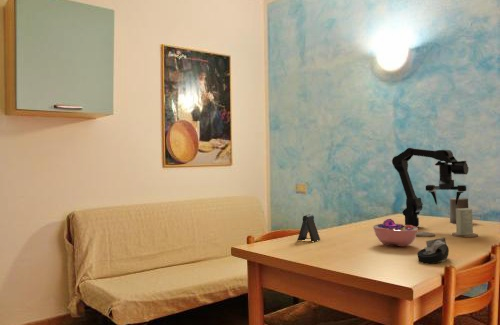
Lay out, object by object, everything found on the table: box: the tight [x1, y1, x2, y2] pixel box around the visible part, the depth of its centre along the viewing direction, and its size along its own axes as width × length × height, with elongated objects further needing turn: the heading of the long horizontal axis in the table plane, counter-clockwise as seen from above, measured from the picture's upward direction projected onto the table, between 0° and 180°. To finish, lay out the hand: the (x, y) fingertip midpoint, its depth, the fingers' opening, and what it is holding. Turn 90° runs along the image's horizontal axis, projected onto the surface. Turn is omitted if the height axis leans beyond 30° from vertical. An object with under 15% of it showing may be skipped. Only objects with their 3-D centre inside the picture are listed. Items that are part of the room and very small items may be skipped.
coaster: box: [416, 231, 436, 238], centre depth 209 cm, size 11×11×1 cm
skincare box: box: [455, 207, 474, 235], centre depth 205 cm, size 6×4×12 cm
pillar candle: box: [448, 197, 469, 224], centre depth 243 cm, size 10×10×15 cm
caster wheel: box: [417, 237, 450, 265], centre depth 158 cm, size 7×12×10 cm
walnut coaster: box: [452, 231, 479, 239], centre depth 205 cm, size 11×11×1 cm
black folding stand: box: [297, 213, 321, 242], centre depth 202 cm, size 9×6×12 cm, turn 55°
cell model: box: [372, 218, 419, 247], centre depth 186 cm, size 17×20×11 cm
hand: (446, 204), depth 220 cm, fingers open, 9 cm apart
